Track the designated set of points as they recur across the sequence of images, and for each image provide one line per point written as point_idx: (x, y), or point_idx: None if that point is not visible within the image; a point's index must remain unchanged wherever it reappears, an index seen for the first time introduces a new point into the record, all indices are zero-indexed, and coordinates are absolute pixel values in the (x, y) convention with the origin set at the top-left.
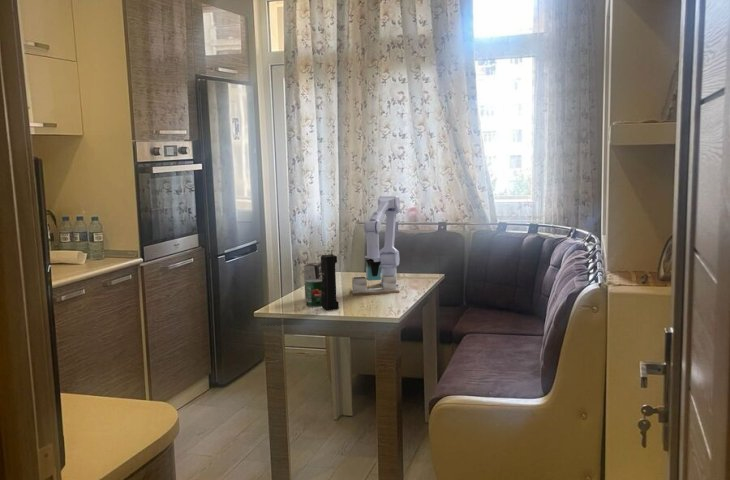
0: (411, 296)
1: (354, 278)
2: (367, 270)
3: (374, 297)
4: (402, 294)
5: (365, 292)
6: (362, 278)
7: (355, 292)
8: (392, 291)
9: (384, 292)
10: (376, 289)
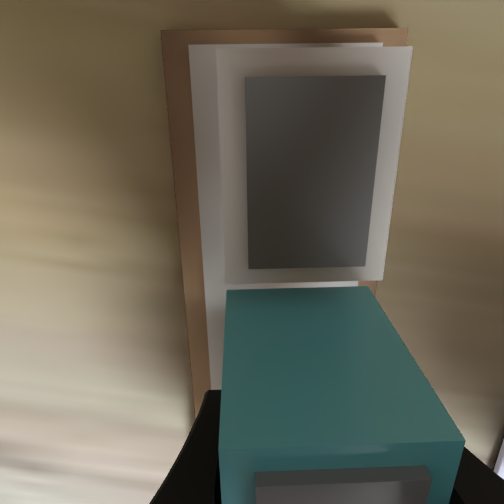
0: (24, 493)
1: (272, 76)
2: (255, 394)
3: (16, 248)
4: (115, 458)
5: (199, 195)
6: (243, 225)
7: (191, 73)
8: (195, 419)
9: (191, 360)
10: None
